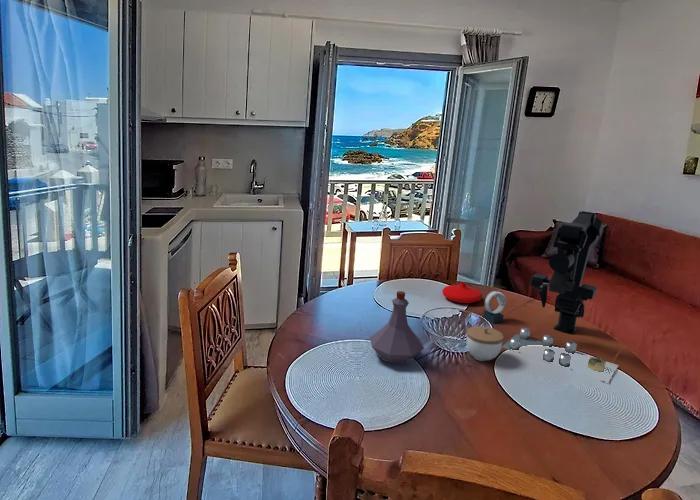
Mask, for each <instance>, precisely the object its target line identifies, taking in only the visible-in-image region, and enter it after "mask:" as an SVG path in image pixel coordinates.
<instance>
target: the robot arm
mask: <svg viewBox="0 0 700 500" xmlns="http://www.w3.org/2000/svg"><path fill="white" fill-rule="evenodd" d="M603 229H604V225H603V221H602V220H600V218H598V217H597V214H596V213H595V212H591V211H585V210H581V211H579V212H578V214H577V216H576V217H575V218H574V219H573V220H572V222H565V223H563V224H561V226H559V227H558V229H557V232H556V234H555V238H554V241H553V243H552V247H553V248H557V251H556V252H555V253H554V254H552V255H551V256H550V258H549V259H548V265H549V267H550V268H551V270H553V271H554V272H553V274H552V276H551V277H550V279H549V276H548V275H546V274H542V273H536V274H534V275H533V276H532V277H531V278H530V281H529V285H530V286H532V287H533V289H535V290H537V291H538V293H539V298H540V300H541V306H542V308H545V307H546V304H547V297H548V291H549V292H551V293H553V292H554V293H557V295H556V297H555V302H554V312H556V313H559V314H558V320H557V324H556V325H555V326H553V329H554V330H557V331H559V332H564V333H566V334H570V335H574V334H575V333H576V331H577V330H578V326H577V327H576V324H577V318H578V319H579V318H584V316H585V307H586V306H585V303H584V301H588V300H593V298H595V296H596V294H597V287H596V286H595V285H591V284H585V283H583V284H582V282H583V279H584V277H585V275H584V274H585V271H586V268H587V264H588V260H589V257H590V252H591V248H593V246H595V244H597V243H598V241H599V239H600V237H601V236H602V233H603Z"/></svg>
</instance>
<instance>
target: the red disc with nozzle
mask: <svg viewBox="0 0 700 500" xmlns="http://www.w3.org/2000/svg"><path fill="white" fill-rule="evenodd" d="M441 291H442V292H441V293H442V295H443V296H444V297H445V298H447V299H448V300H450V301H453V302H455V303H461V304H473V303H475V302H479V301H481V300H482V297H483V294H482V292H481V291H479V289H477V288H474V287H471V286H468V285H467V283H466V282H463V281H462V282H460V284H452V285H451V284H450V285H447V286H444V287H443V288H442V290H441Z"/></svg>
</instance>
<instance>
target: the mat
mask: <svg viewBox="0 0 700 500" xmlns="http://www.w3.org/2000/svg"><path fill="white" fill-rule="evenodd" d="M512 338H518V339H520V340H521V342H520V347H522V346H527V345H542V341H543V340H542V341H541V340H538V339H534V338H532V337H529V340H523V339H521V338H520V333H519V334H518V333H516V334H515V335H514V336H512ZM510 340H511V338H510V339H509V340H508V341H506V342H505V343H504V344H502V347H501V349H505V350H508V351H511V349H510V348H509V346H510ZM552 346H554V347H559V348H562V347H561V346H557V345H554V344H552ZM605 367H606V368H607V369H606V368H605V369H606V370H608V372H609V369H610V371H611V370H613V372H615V373H616V372H617V369H618V368H619V364H615V363H612V362H609V361H606V364H605ZM608 368H609V369H608ZM611 368H612V369H611ZM590 370H591V369H590ZM606 370H605V371H606ZM603 372H604V371H603ZM611 372H612V371H611ZM606 373H607V372H606ZM587 374H588V371H587ZM598 374H599V372H598ZM604 374H605V373H604ZM609 374H610V372H609ZM607 375H608V374H607ZM598 376H599V375H598ZM598 376H597V377H596V375H595V376H594V377H593V375H592V376H590V372H589V376H588V377H590V378H593V379H597V380H599V379H600V380H599V381H601V380H602V379H601V377H600V378H598ZM610 376H611V375H610ZM610 376H608V378H609V380H608V378H607V376H606V381H607V382H608V383H610V382H611V380H612V378H613V377H611V378H610ZM595 377H596V378H595ZM610 379H611V380H610ZM603 381H605V379H604V378H603ZM606 381H605V382H606ZM609 381H610V382H609Z"/></svg>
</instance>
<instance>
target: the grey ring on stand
mask: <svg viewBox="0 0 700 500" xmlns="http://www.w3.org/2000/svg"><path fill="white" fill-rule="evenodd" d="M493 297H495V299H496V301H497V303H498V307H497V308H496V309H492V307H491V304H490V303H491V302H490V301H491V299H493ZM507 303H508V299H507V297H506V296H505V295H504V293H502V292H500V291H496V290H494V291H493V290H492V291H491V292H489V293H488V294H487V295H486V297H485V300H484V307H485V310H483V313H482V319H483V318H485V319H486V320H487V321H486V320H485V321H486V322H488V321H489V322H488V323H491V324H499V323H501V324H502V323H503V321H504V314H502V313H501V312H502V311H503V310H504V309H505V307H506V306H507Z"/></svg>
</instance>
